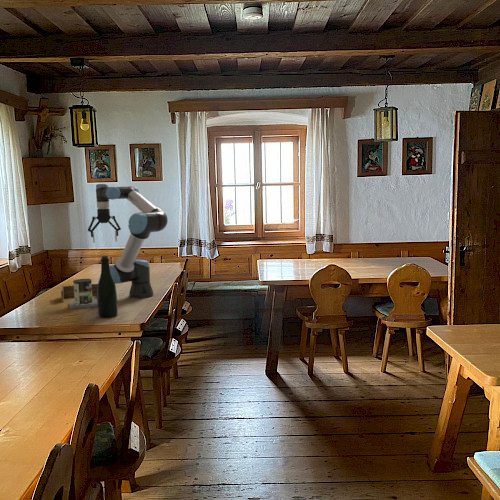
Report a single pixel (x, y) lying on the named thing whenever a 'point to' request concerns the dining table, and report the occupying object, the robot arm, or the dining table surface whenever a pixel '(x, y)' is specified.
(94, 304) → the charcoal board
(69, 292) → the walnut u-shaped frame
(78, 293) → the coffee can
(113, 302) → the green wine bottle
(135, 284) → the robot arm
